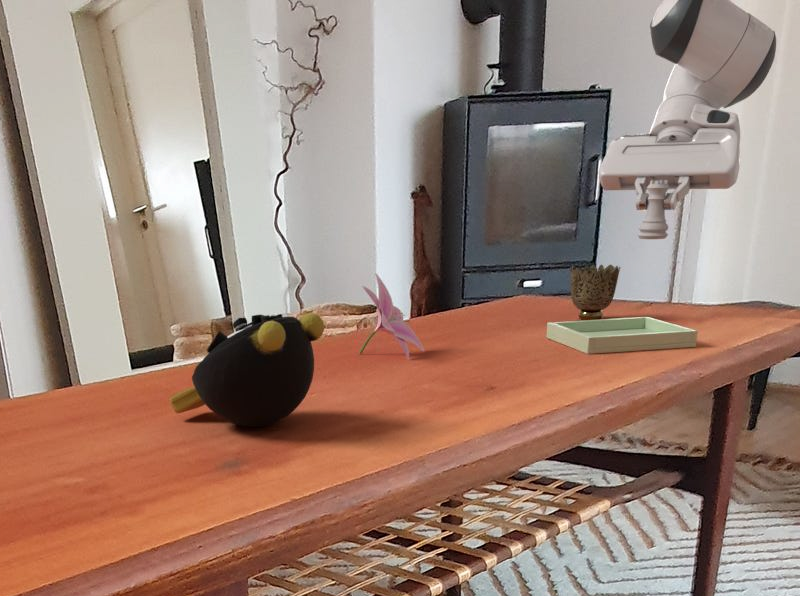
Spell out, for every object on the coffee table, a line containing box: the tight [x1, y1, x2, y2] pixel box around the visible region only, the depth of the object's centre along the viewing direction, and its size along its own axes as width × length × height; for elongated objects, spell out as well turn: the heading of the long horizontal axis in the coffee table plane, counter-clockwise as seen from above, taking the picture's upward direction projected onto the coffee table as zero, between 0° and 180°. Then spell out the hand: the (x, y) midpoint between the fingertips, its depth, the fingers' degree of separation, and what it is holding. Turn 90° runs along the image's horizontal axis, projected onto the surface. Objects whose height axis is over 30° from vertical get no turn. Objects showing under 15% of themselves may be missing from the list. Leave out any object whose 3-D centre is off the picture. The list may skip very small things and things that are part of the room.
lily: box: [359, 273, 425, 360], centre depth 129 cm, size 12×12×10 cm
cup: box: [569, 264, 621, 321], centre depth 151 cm, size 8×7×8 cm
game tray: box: [545, 316, 699, 355], centre depth 134 cm, size 16×14×2 cm
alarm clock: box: [169, 312, 325, 428], centre depth 96 cm, size 12×15×15 cm
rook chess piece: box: [637, 180, 670, 240], centre depth 146 cm, size 4×4×8 cm
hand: (655, 207), depth 145 cm, fingers closed on rook chess piece, 3 cm apart
